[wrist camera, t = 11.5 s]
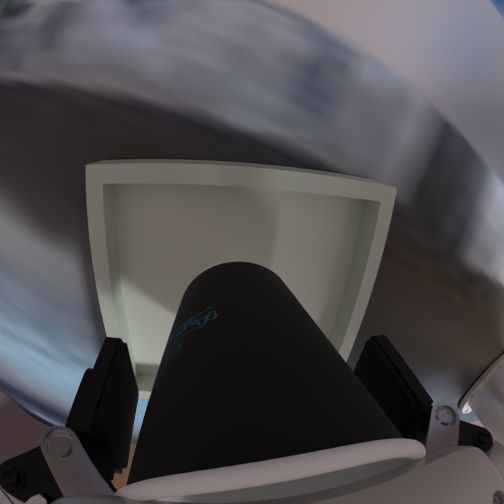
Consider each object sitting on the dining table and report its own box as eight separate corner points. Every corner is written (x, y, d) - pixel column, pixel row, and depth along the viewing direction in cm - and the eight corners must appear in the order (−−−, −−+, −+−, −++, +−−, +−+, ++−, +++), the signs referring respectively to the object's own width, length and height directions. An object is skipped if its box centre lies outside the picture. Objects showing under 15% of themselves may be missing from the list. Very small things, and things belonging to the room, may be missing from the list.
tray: (374, 179, 14) (397, 187, 12) (323, 372, 19) (332, 393, 17) (103, 160, 11) (85, 164, 9) (130, 373, 17) (124, 396, 15)
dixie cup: (149, 228, 12) (40, 457, 2) (316, 225, 13) (486, 397, 3) (168, 357, 15) (158, 538, 5) (299, 350, 16) (365, 512, 6)
